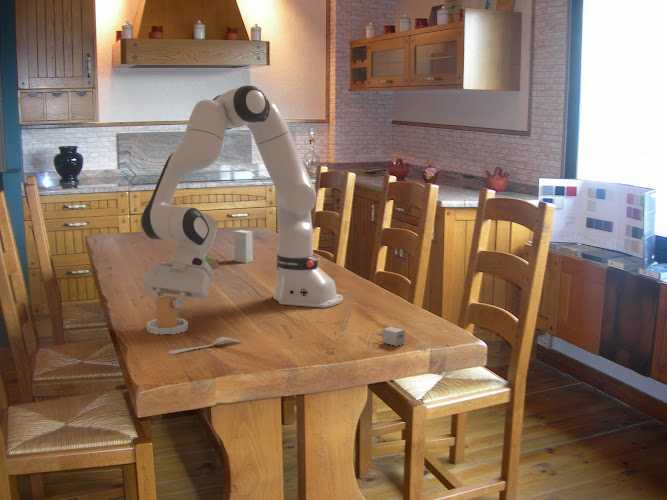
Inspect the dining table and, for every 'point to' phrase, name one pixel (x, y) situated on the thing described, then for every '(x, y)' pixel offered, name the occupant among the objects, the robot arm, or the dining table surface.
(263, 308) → the dining table surface
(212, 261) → the frame
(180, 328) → the ring dish
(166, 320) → the wooden toy brick
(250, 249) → the skincare box
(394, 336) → the usb wall charger
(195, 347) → the fork
